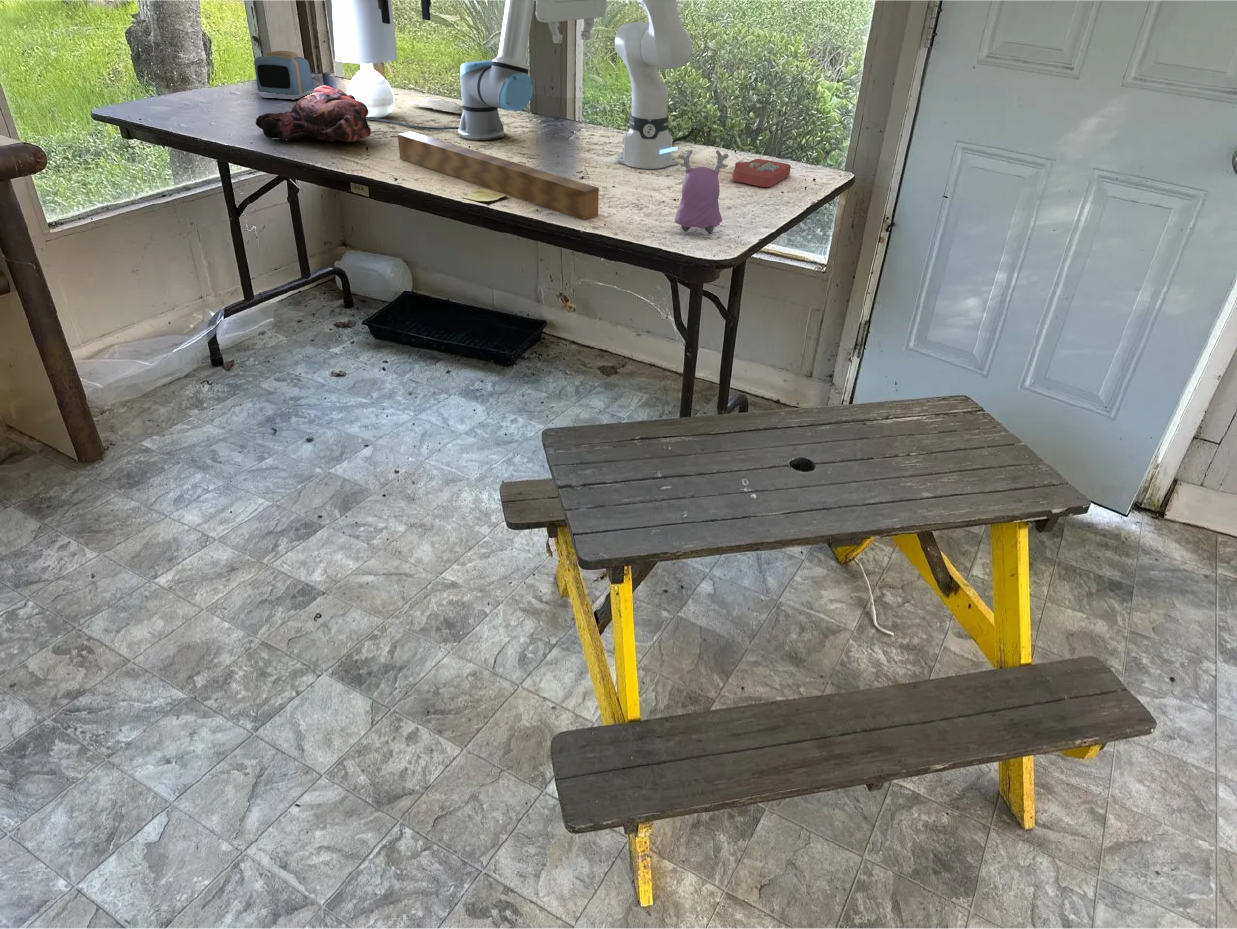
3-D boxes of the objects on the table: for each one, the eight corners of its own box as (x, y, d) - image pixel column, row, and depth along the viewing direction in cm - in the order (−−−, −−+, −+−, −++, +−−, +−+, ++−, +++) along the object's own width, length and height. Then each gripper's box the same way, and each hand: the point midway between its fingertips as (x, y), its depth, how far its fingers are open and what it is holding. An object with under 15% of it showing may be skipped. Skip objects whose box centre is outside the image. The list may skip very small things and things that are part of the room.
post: (400, 158, 261) (397, 134, 257) (413, 155, 265) (411, 131, 261) (584, 219, 219) (584, 191, 215) (598, 215, 222) (598, 187, 218)
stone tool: (407, 106, 321) (455, 116, 310) (406, 98, 320) (455, 108, 308) (428, 102, 329) (476, 112, 317) (427, 94, 327) (475, 104, 316)
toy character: (721, 226, 217) (729, 145, 206) (721, 240, 208) (729, 156, 197) (673, 223, 218) (679, 142, 207) (671, 236, 209) (677, 153, 198)
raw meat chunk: (388, 148, 274) (381, 105, 266) (300, 168, 259) (290, 124, 251) (331, 115, 299) (323, 75, 291) (247, 132, 285) (236, 91, 276)
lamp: (416, 115, 310) (403, -11, 287) (372, 125, 294) (355, -7, 272) (373, 106, 319) (358, -16, 296) (328, 116, 304) (309, -13, 281)
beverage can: (339, 109, 314) (334, 74, 307) (318, 108, 314) (312, 73, 307) (346, 104, 321) (341, 69, 314) (325, 103, 321) (320, 69, 314)
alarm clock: (257, 98, 324) (248, 53, 316) (278, 90, 338) (270, 46, 329) (297, 101, 323) (289, 55, 314) (317, 93, 336) (310, 49, 327)
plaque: (748, 154, 263) (793, 162, 256) (746, 167, 265) (791, 175, 258) (722, 166, 250) (769, 175, 244) (721, 179, 252) (767, 189, 246)
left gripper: (366, -67, 216) (376, 26, 228) (444, -68, 231) (450, 19, 243) (349, -69, 220) (360, 23, 232) (427, -69, 235) (434, 16, 247)
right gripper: (548, -24, 185) (549, 46, 193) (611, -27, 198) (610, 39, 205) (528, -26, 188) (530, 43, 196) (592, -29, 201) (591, 36, 209)
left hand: (406, 21), depth 238 cm, fingers open, 13 cm apart
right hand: (571, 41), depth 201 cm, fingers open, 8 cm apart
